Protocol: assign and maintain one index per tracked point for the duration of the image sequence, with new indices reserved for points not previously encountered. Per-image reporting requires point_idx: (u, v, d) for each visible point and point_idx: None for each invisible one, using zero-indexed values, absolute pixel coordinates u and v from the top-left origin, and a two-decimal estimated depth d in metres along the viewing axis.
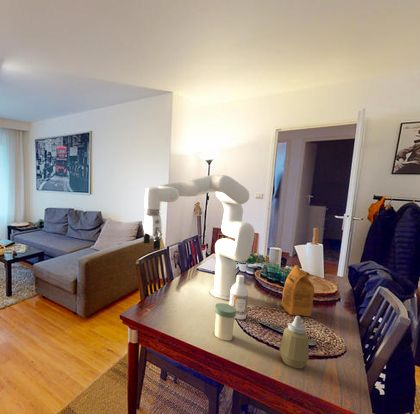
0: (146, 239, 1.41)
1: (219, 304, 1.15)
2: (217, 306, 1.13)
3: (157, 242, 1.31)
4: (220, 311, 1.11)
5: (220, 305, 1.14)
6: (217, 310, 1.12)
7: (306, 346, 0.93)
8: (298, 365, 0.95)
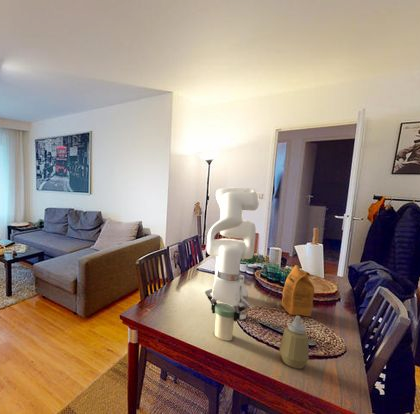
0: None
1: (219, 304, 1.15)
2: (217, 306, 1.13)
3: (239, 313, 1.09)
4: (220, 311, 1.11)
5: (220, 305, 1.14)
6: (217, 310, 1.12)
7: (306, 346, 0.93)
8: (298, 365, 0.95)
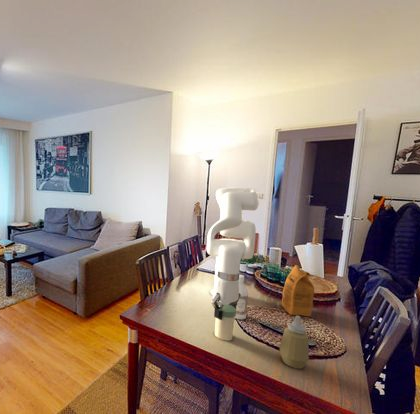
0: None
1: None
2: (224, 310, 1.10)
3: None
4: (233, 313, 1.09)
5: None
6: (229, 314, 1.09)
7: (306, 346, 0.93)
8: (298, 365, 0.95)
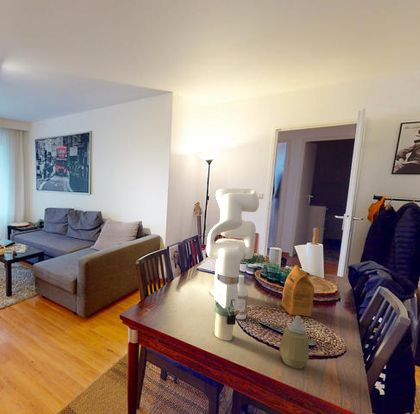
0: None
1: (226, 310, 1.10)
2: (232, 310, 1.10)
3: None
4: None
5: None
6: None
7: (306, 346, 0.93)
8: (298, 365, 0.95)
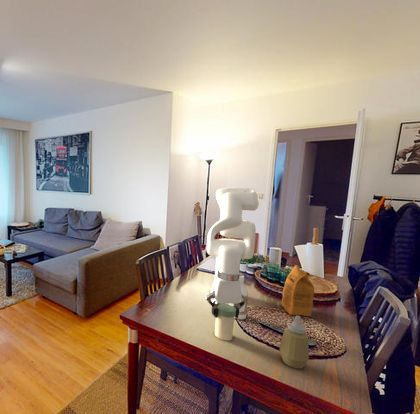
0: None
1: (226, 310, 1.10)
2: (232, 310, 1.10)
3: None
4: None
5: (227, 309, 1.10)
6: None
7: (306, 346, 0.93)
8: (298, 365, 0.95)
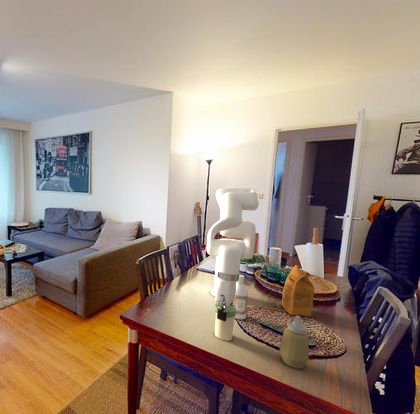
0: None
1: (232, 310, 1.10)
2: (233, 308, 1.11)
3: None
4: None
5: (230, 309, 1.11)
6: None
7: (306, 346, 0.93)
8: (298, 365, 0.95)
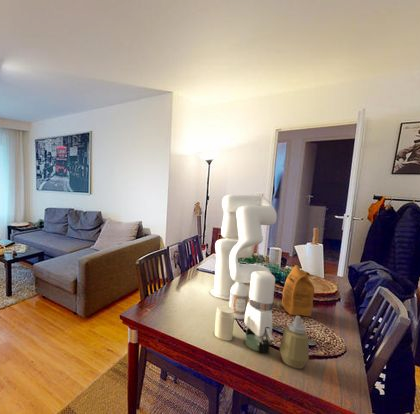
0: None
1: None
2: None
3: None
4: None
5: None
6: None
7: (306, 346, 0.93)
8: (298, 365, 0.95)
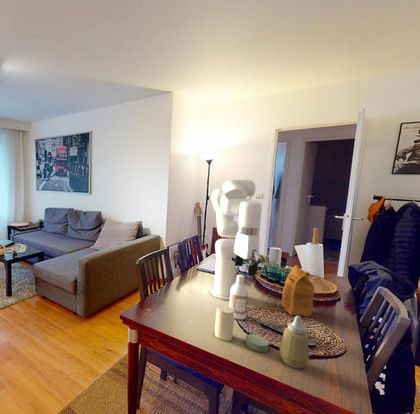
0: None
1: (265, 341, 1.06)
2: (261, 338, 1.09)
3: None
4: None
5: (263, 340, 1.07)
6: None
7: (306, 346, 0.93)
8: (298, 365, 0.95)
